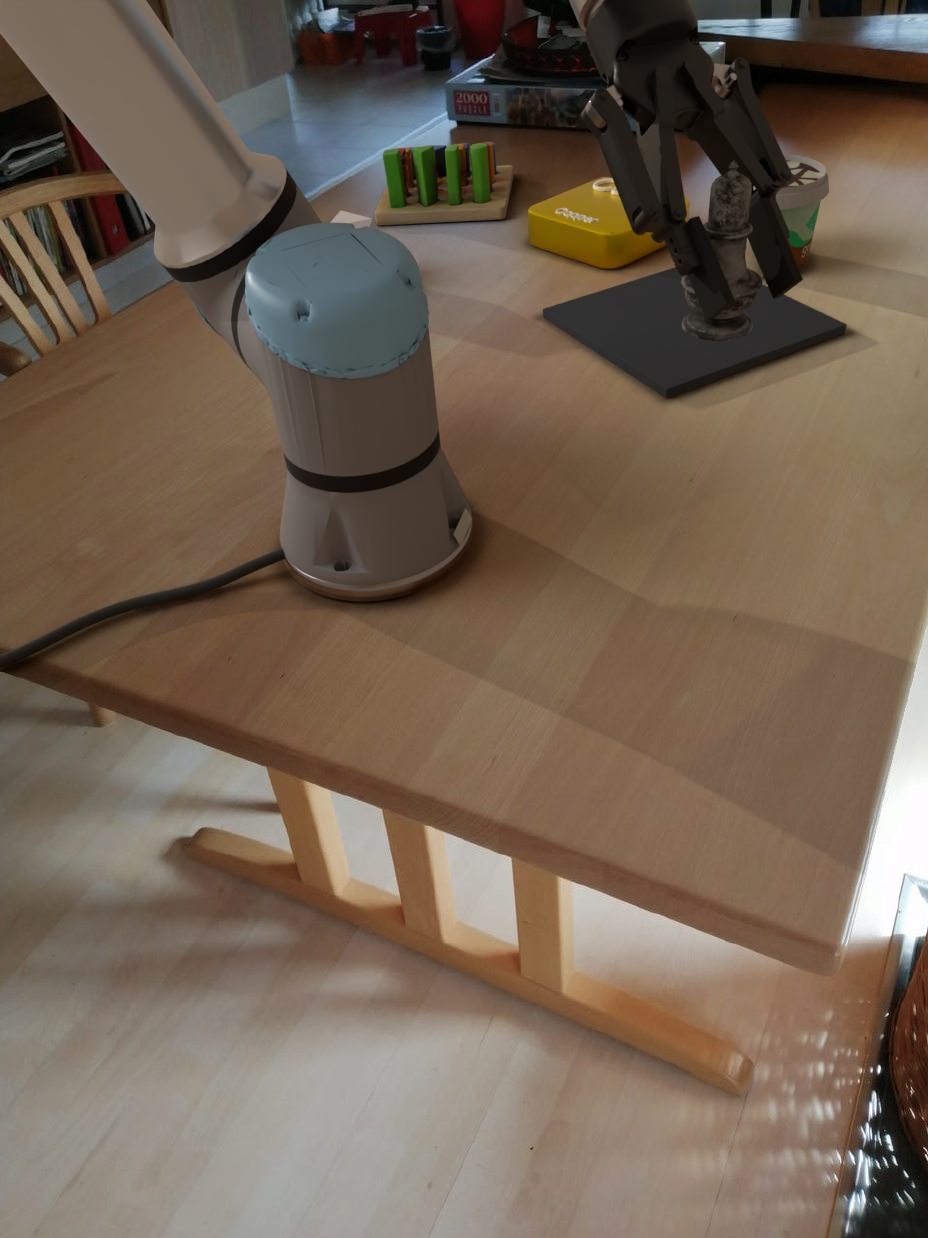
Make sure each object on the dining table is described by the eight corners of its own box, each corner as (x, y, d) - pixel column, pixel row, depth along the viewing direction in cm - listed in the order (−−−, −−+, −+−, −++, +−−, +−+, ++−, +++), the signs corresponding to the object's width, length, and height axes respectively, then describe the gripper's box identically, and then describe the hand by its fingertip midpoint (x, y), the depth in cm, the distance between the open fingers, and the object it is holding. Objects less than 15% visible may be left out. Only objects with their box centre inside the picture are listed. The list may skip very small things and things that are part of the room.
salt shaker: (768, 317, 77) (791, 152, 69) (738, 348, 73) (759, 178, 66) (697, 303, 80) (711, 143, 72) (664, 333, 76) (676, 167, 68)
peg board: (514, 176, 144) (511, 111, 139) (505, 220, 131) (501, 151, 126) (395, 182, 147) (387, 119, 141) (374, 226, 134) (365, 158, 128)
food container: (821, 283, 109) (836, 189, 103) (762, 283, 111) (773, 189, 104) (814, 240, 118) (828, 151, 112) (760, 240, 120) (771, 152, 113)
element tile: (521, 243, 125) (520, 204, 122) (603, 208, 132) (604, 170, 129) (611, 273, 116) (612, 231, 113) (694, 233, 123) (697, 193, 120)
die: (411, 288, 119) (390, 204, 118) (375, 278, 111) (352, 188, 110) (351, 311, 123) (330, 229, 122) (312, 303, 115) (289, 216, 114)
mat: (666, 398, 94) (666, 389, 93) (542, 317, 109) (542, 308, 108) (845, 333, 100) (846, 324, 100) (705, 265, 116) (706, 256, 115)
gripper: (706, 20, 79) (820, 291, 78) (502, 62, 73) (625, 355, 72) (759, -54, 72) (886, 243, 71) (539, -14, 66) (675, 310, 65)
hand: (754, 299), depth 72 cm, fingers closed on salt shaker, 5 cm apart
